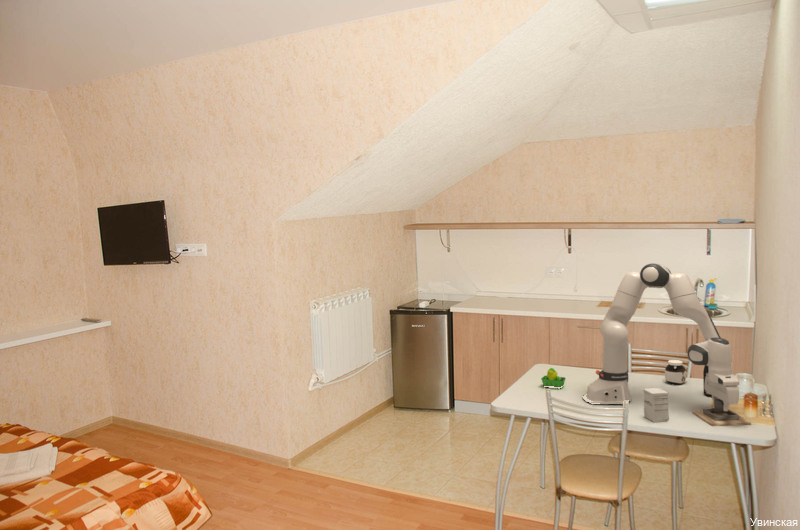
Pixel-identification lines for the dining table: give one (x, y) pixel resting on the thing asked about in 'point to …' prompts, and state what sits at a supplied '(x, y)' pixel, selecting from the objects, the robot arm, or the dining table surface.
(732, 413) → the holder board
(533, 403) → the dining table surface
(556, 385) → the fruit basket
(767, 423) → the dining table surface
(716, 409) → the dark grey cylinder
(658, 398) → the supplement box
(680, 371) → the spread jar
